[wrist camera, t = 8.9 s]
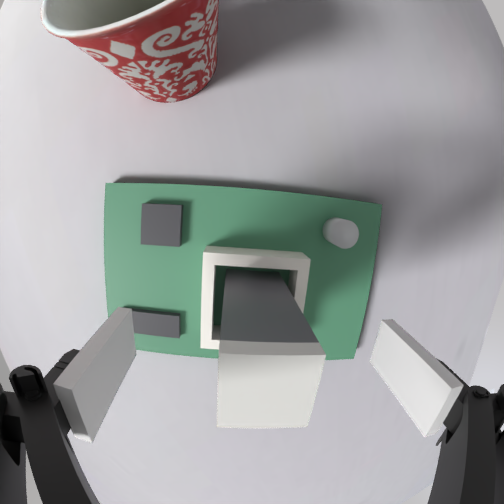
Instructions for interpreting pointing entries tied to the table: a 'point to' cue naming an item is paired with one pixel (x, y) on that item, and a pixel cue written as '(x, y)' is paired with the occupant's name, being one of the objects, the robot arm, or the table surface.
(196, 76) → the mug
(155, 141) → the table surface
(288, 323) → the plug
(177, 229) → the board
